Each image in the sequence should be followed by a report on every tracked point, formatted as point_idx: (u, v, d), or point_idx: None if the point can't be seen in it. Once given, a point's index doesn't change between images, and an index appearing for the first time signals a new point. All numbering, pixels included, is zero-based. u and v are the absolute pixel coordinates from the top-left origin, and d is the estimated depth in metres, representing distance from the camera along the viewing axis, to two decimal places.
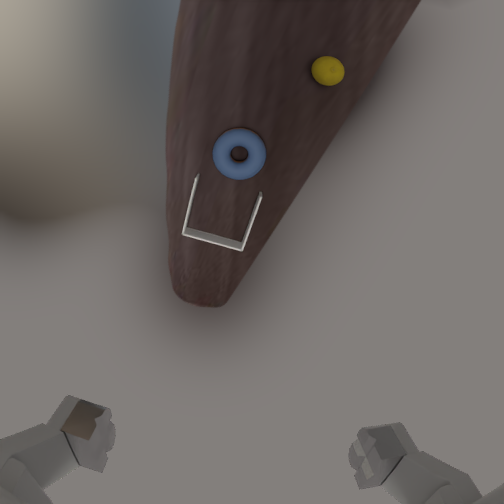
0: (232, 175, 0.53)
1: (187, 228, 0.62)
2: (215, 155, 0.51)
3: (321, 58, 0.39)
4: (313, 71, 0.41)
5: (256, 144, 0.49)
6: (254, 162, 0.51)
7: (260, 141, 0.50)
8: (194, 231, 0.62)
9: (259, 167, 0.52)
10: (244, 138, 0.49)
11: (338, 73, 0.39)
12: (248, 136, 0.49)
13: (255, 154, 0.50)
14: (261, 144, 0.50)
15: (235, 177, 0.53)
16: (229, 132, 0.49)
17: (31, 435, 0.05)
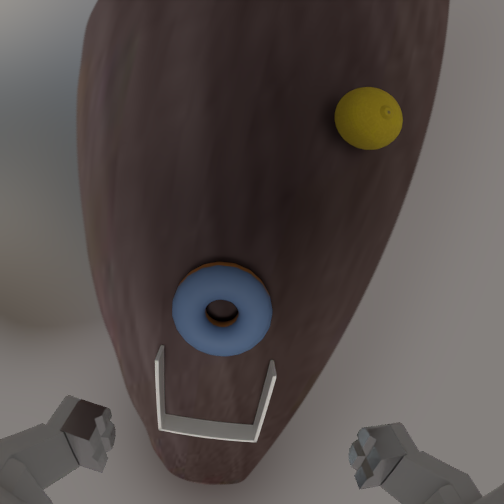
0: (216, 353, 0.28)
1: (166, 416, 0.34)
2: (177, 323, 0.27)
3: (354, 92, 0.19)
4: (343, 123, 0.21)
5: (250, 295, 0.26)
6: (252, 327, 0.27)
7: (257, 286, 0.27)
8: (177, 420, 0.34)
9: (263, 333, 0.28)
10: (225, 287, 0.26)
11: (397, 119, 0.18)
12: (233, 282, 0.26)
13: (251, 313, 0.27)
14: (260, 292, 0.27)
15: (222, 355, 0.28)
16: (194, 277, 0.26)
17: (31, 435, 0.05)
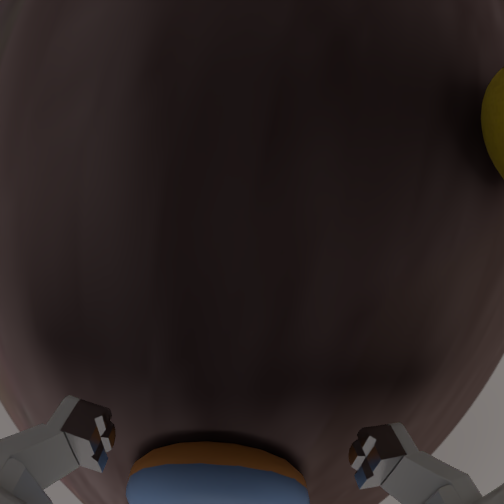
0: None
1: None
2: None
3: None
4: None
5: None
6: None
7: (285, 494, 0.09)
8: None
9: None
10: None
11: None
12: (235, 501, 0.09)
13: None
14: (290, 501, 0.09)
15: None
16: (154, 483, 0.09)
17: (31, 435, 0.05)
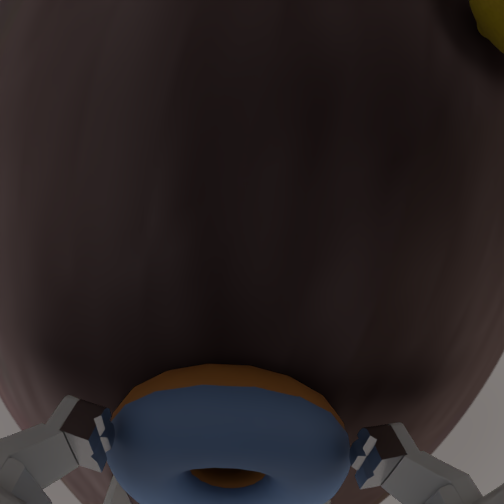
0: None
1: None
2: (127, 492, 0.08)
3: None
4: None
5: (305, 460, 0.07)
6: (305, 503, 0.08)
7: (322, 431, 0.08)
8: None
9: (328, 499, 0.08)
10: (228, 455, 0.07)
11: None
12: (252, 442, 0.07)
13: (305, 486, 0.07)
14: (330, 443, 0.08)
15: None
16: (136, 422, 0.07)
17: (30, 435, 0.05)
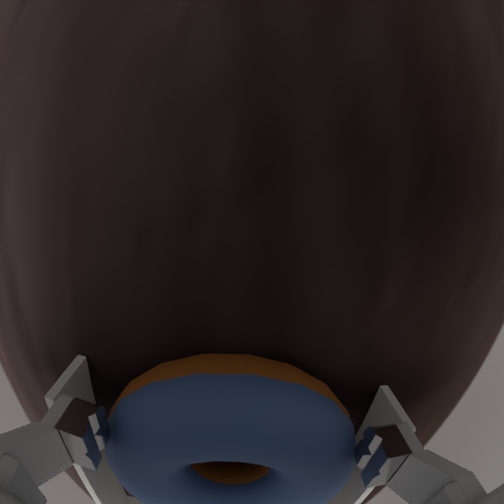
0: None
1: (128, 502, 0.12)
2: (128, 491, 0.08)
3: None
4: None
5: (308, 450, 0.07)
6: (312, 497, 0.08)
7: (325, 420, 0.07)
8: None
9: None
10: (226, 446, 0.07)
11: None
12: (251, 431, 0.07)
13: (310, 479, 0.07)
14: (334, 432, 0.07)
15: None
16: (132, 414, 0.07)
17: (25, 432, 0.05)
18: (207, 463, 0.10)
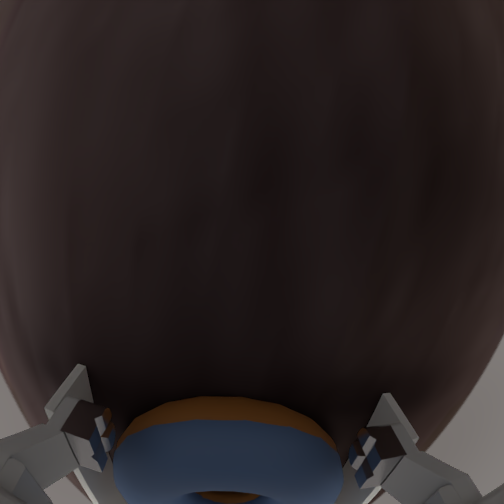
0: None
1: None
2: None
3: None
4: None
5: (295, 483, 0.07)
6: None
7: (311, 457, 0.08)
8: None
9: None
10: (222, 481, 0.07)
11: None
12: (244, 470, 0.07)
13: None
14: (320, 467, 0.08)
15: None
16: (138, 453, 0.07)
17: (31, 435, 0.05)
18: None
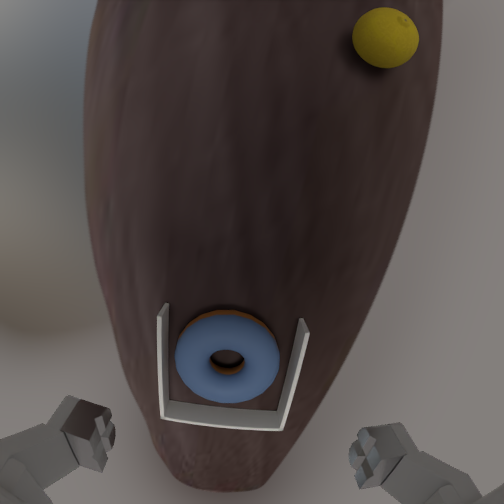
0: (226, 401, 0.25)
1: (170, 403, 0.29)
2: (182, 376, 0.25)
3: (369, 11, 0.16)
4: (363, 37, 0.17)
5: (253, 342, 0.24)
6: (260, 373, 0.25)
7: (260, 332, 0.24)
8: (184, 407, 0.28)
9: (272, 377, 0.25)
10: (225, 338, 0.24)
11: (413, 29, 0.15)
12: (233, 332, 0.24)
13: (257, 360, 0.24)
14: (263, 338, 0.24)
15: (233, 402, 0.26)
16: (192, 331, 0.24)
17: (31, 435, 0.05)
18: (217, 366, 0.27)
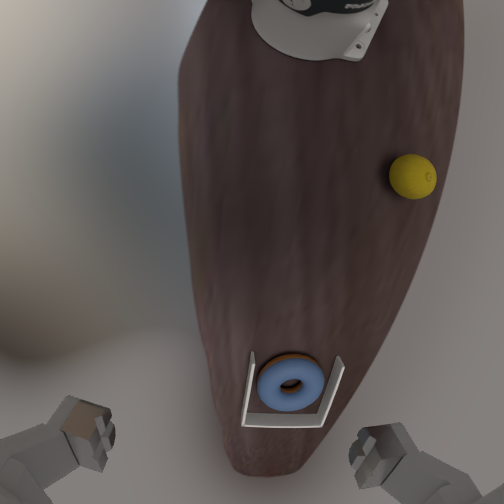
0: (289, 410, 0.39)
1: (245, 414, 0.42)
2: (263, 397, 0.38)
3: (406, 160, 0.29)
4: (398, 182, 0.30)
5: (311, 374, 0.37)
6: (313, 392, 0.38)
7: (314, 367, 0.38)
8: (255, 416, 0.42)
9: (319, 393, 0.38)
10: (295, 373, 0.37)
11: (434, 180, 0.28)
12: (300, 369, 0.37)
13: (312, 384, 0.37)
14: (317, 370, 0.37)
15: (293, 410, 0.39)
16: (273, 369, 0.37)
17: (31, 435, 0.05)
18: None
